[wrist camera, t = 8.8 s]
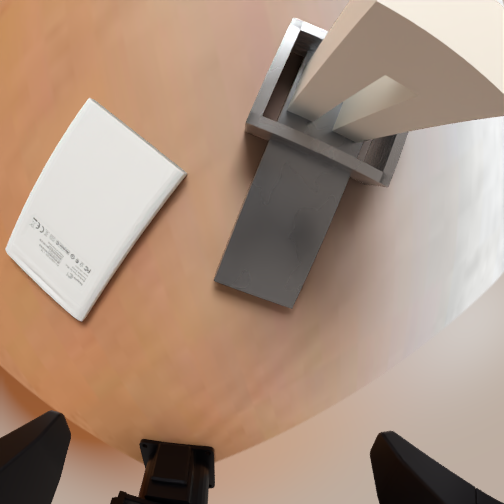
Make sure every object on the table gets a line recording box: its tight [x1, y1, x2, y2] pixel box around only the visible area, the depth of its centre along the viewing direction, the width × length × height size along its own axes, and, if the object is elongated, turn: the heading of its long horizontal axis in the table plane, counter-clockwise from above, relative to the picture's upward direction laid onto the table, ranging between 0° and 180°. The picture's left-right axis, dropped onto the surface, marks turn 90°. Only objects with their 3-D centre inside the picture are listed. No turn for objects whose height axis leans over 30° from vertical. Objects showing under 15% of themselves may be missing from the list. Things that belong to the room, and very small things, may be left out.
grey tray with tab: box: [214, 18, 408, 309], centre depth 17 cm, size 16×8×3 cm, turn 158°
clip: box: [287, 0, 504, 143], centre depth 10 cm, size 3×4×12 cm
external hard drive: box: [6, 98, 187, 321], centre depth 18 cm, size 2×8×12 cm
